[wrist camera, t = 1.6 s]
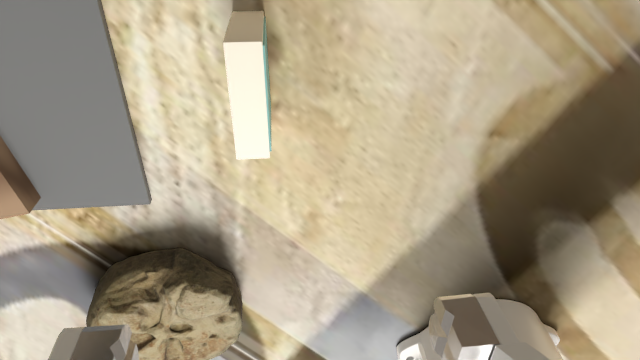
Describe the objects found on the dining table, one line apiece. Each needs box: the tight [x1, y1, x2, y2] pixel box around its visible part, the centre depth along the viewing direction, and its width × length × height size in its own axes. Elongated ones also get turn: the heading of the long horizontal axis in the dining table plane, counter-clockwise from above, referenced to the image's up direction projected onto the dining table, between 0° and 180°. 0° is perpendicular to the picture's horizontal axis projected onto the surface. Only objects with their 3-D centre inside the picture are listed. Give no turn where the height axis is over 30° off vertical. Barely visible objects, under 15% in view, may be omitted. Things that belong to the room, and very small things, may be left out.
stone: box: [86, 248, 242, 360], centre depth 40 cm, size 13×13×5 cm
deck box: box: [223, 11, 271, 160], centre depth 27 cm, size 7×2×7 cm, turn 179°
